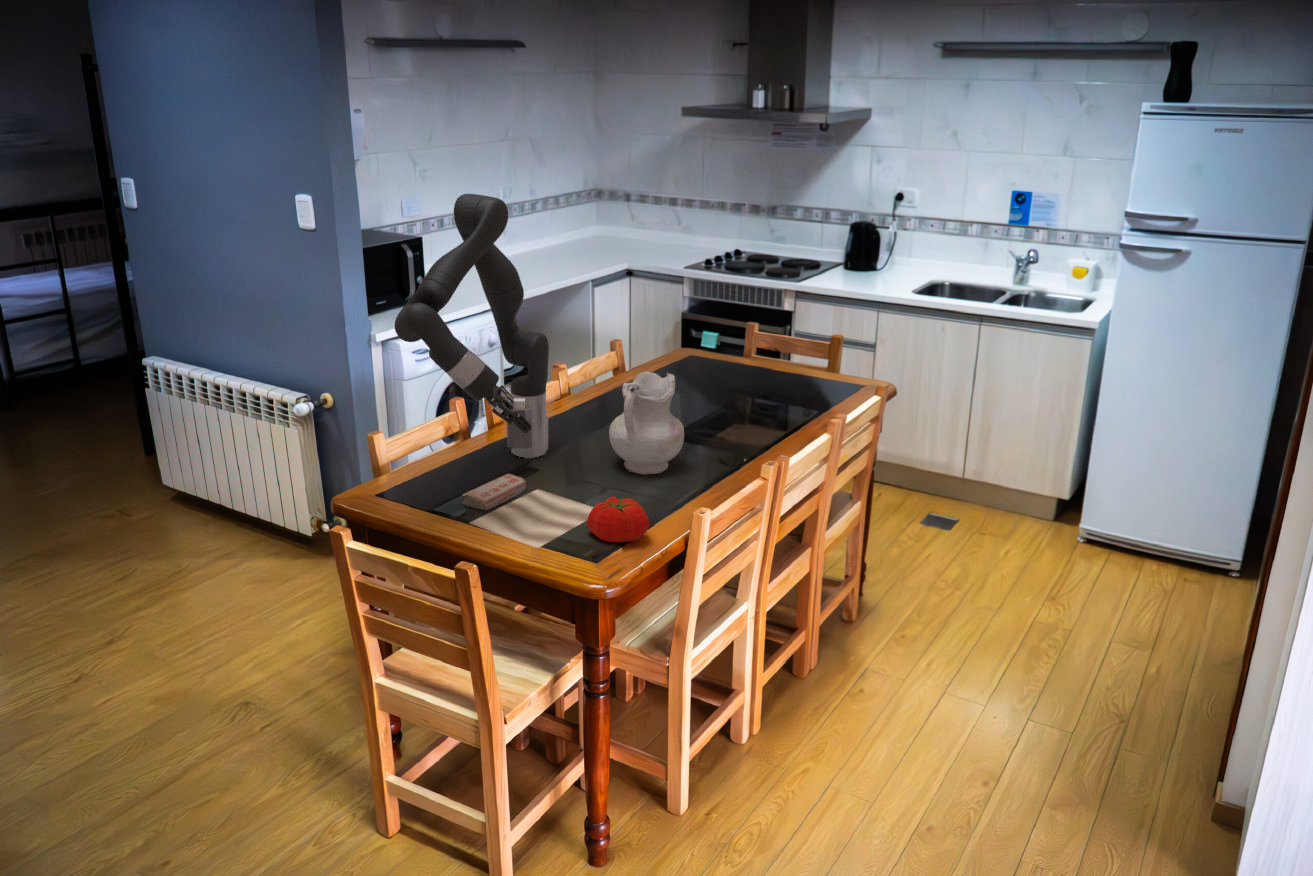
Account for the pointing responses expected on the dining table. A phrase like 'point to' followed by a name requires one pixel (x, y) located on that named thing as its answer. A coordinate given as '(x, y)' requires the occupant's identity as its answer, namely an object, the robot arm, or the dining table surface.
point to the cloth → (535, 518)
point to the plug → (514, 433)
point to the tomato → (618, 520)
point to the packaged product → (494, 492)
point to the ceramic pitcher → (647, 425)
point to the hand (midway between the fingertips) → (528, 427)
